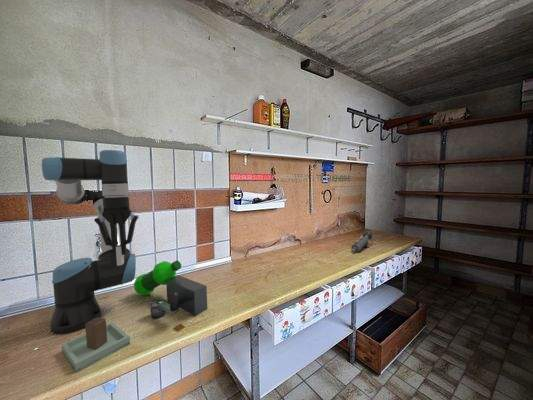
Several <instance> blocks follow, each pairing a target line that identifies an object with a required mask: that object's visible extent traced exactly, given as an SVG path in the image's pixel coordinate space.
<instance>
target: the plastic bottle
mask: <svg viewBox="0 0 533 400" xmlns="http://www.w3.org/2000/svg"><path fill="white" fill-rule="evenodd" d="M181 269H182V264H181V262H180V261H179V260H175V261H173V262H169V261H168V260H167V261H166V260H163V261H161V262H157V264H155V265H154V267H153V269H152V270H151V271H149V272H147V273H144V274H141V275H139V276H137V277H136V278H135V279H134V280H135V281H134V283H133V288H134V291H135V292H136V293H137V294H138V295H141V296H148V295H149V294H151V293H152V292H154V290H155V289H156V288H157V287H159V286H161V285H162V286H166V280H167V279H170V278H172V277H175V276H177V271H179V270H181Z"/></svg>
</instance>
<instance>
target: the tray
mask: <svg viewBox="0 0 533 400" xmlns="http://www.w3.org/2000/svg"><path fill="white" fill-rule="evenodd" d="M106 329H107V342H106V343H105V344H103V345H102V346H100V347H99V348H97V349H92V348H88V347H87V341H86V333H84V334H82V335H79V336H78V337H75V338H73V339H71V340H68V341H65V342H64V343H61V352H62V354H63V355H64V357H65V358H66V360H67V361H68V363H69V364H70V366H72V368H73V370H74V372H75V373H78V372H80V371H82V370H84V369H86V368H88V367H90V366H91V365H93V364H95V363H98V362H99V361H101V360H102V359H105V358H107V357H108V356H110V355H112V354H114V353H116V352H118V351H120V350H122V349H123V348H125V347H126V346H128V345H131V338H130V335H128V334H127V333H126V332H125V331H124V330H122V329H121V328H120V327H119V326H118V325H116V324H115V323H114V322H112V321H111V322H108V323H106Z"/></svg>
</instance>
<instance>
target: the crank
mask: <svg viewBox="0 0 533 400" xmlns="http://www.w3.org/2000/svg"><path fill="white" fill-rule="evenodd" d="M169 298H170V304H168V303H166V302H167V301H166V302H165V299H164V298H162V297H161V298H160V297H159V298H155V299H152V300H150V302H149V304H150V305H149V306H150V307H151V308H159V309H162V310H164V311H165V312H166V313H168V314H171V315H173V314H175V313H177V312H178V311H179V309H180V308H179V301H178V292H177V291H174V292H171V293H170V294H169ZM151 308H150V309H151Z"/></svg>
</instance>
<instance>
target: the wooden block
mask: <svg viewBox="0 0 533 400" xmlns="http://www.w3.org/2000/svg"><path fill="white" fill-rule="evenodd" d="M106 325H107V319H106V318H104V317H96V318H94V319H93V320H91V321H89V322H87V323H86V324H85V328H84V329H85V334H86V341H87V347H88V348H92V349H97V348H99V347H100V346H102V345H103V344H105V343H106V342H107V329H106Z"/></svg>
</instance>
